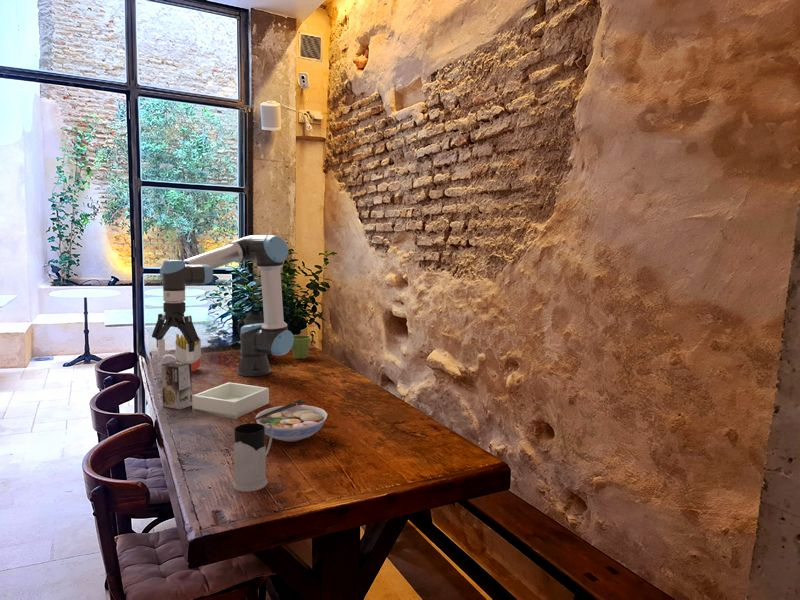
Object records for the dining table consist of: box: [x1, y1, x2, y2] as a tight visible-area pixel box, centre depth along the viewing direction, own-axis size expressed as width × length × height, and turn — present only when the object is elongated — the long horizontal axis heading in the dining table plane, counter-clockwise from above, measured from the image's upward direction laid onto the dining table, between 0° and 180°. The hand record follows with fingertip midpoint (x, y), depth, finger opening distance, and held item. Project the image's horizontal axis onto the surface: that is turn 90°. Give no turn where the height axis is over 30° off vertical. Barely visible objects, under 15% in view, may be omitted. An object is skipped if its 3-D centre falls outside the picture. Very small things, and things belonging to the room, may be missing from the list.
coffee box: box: [160, 360, 193, 410], centre depth 201 cm, size 9×6×16 cm
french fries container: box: [175, 333, 202, 372], centre depth 253 cm, size 5×11×18 cm, turn 105°
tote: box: [191, 381, 270, 420], centre depth 201 cm, size 19×20×6 cm
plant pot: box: [291, 334, 312, 360], centre depth 285 cm, size 12×12×11 cm
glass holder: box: [232, 422, 273, 492], centre depth 141 cm, size 9×14×15 cm, turn 159°
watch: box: [156, 354, 177, 372], centre depth 238 cm, size 6×8×11 cm
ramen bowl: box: [247, 399, 329, 443], centre depth 171 cm, size 25×23×8 cm
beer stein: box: [237, 310, 273, 361], centre depth 281 cm, size 16×19×25 cm
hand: (175, 358), depth 199 cm, fingers open, 13 cm apart
